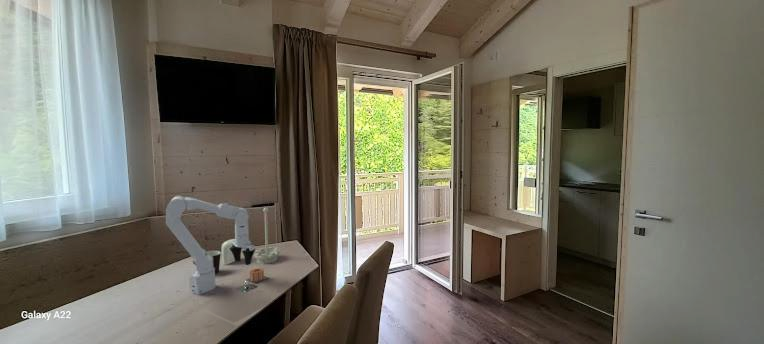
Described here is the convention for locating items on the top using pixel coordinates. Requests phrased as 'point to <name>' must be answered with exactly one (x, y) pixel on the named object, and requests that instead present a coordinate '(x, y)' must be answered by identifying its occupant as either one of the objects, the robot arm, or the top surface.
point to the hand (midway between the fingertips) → (242, 262)
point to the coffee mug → (215, 260)
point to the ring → (256, 274)
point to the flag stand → (268, 253)
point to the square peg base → (257, 281)
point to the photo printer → (227, 252)
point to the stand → (246, 287)
